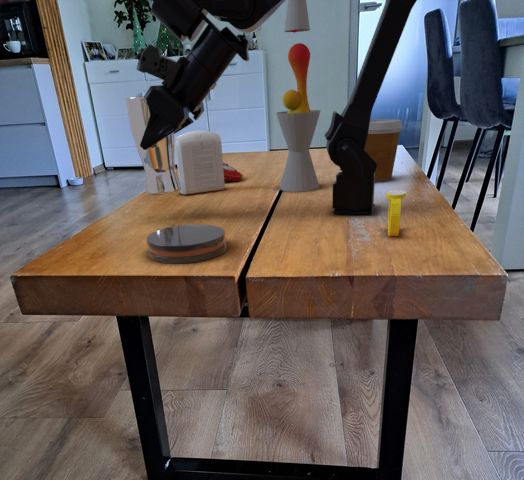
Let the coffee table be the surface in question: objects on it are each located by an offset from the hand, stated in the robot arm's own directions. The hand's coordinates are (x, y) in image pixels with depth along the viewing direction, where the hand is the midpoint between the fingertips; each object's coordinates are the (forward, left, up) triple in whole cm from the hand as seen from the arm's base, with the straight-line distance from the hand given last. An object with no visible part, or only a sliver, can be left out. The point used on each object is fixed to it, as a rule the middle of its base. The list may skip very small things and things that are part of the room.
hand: (148, 145), depth 82 cm
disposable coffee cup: (-36, -37, -12) cm, 53 cm away
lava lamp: (-20, -28, -12) cm, 37 cm away
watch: (-41, +7, -12) cm, 44 cm away
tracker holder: (+1, -39, -12) cm, 41 cm away
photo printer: (+1, -24, -12) cm, 27 cm away
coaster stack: (-13, +18, -12) cm, 26 cm away
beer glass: (-1, 0, -8) cm, 8 cm away
